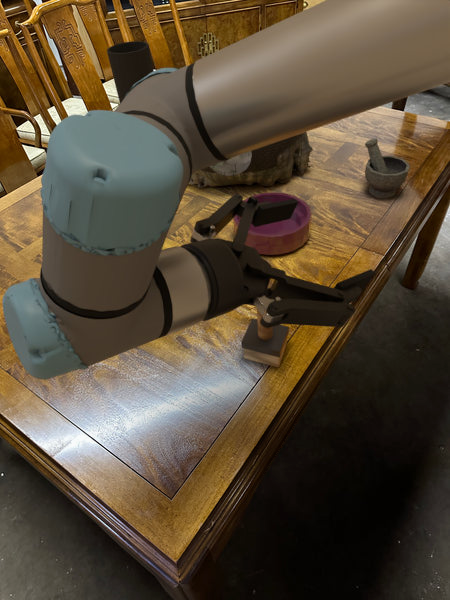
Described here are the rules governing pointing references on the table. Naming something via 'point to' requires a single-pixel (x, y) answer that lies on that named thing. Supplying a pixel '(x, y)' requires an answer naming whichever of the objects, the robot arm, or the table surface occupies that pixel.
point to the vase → (129, 65)
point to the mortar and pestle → (384, 171)
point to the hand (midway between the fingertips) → (328, 242)
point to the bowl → (279, 227)
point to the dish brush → (265, 341)
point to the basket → (259, 165)
